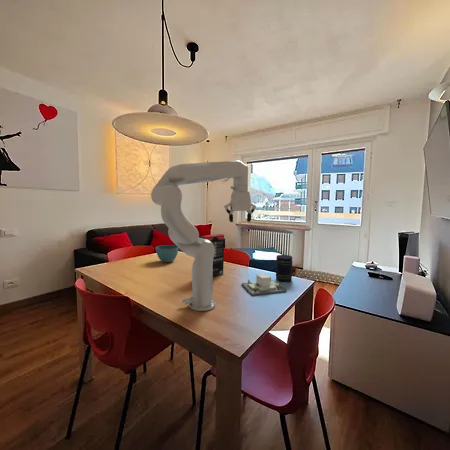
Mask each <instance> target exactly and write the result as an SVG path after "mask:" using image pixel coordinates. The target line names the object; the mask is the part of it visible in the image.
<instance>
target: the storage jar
mask: <svg viewBox="0 0 450 450" xmlns="http://www.w3.org/2000/svg"><path fill="white" fill-rule="evenodd" d="M275 259H276V262H275V265H276V270H275V281H276V282H278V283H279V282H280V283H291V282H292V279H293V278H292V277H293V272H292V271H293V256H292V255H287V254H278V255H276V258H275Z"/></svg>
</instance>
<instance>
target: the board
mask: <svg viewBox="0 0 450 450" xmlns="http://www.w3.org/2000/svg"><path fill="white" fill-rule="evenodd" d="M270 277H271V276H269V275H267V273H258V274H256V277H255V279H256V280H255V281H250V284H248V287H249V288H251V289H252V290H255V285H257V288H256V290H257V289H258V290H259V291H267V290H274V289H276V287H277V284H276V283H277V282H276V281H274V280H273V281H274V282H273V281H270ZM275 282H276V283H275Z"/></svg>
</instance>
